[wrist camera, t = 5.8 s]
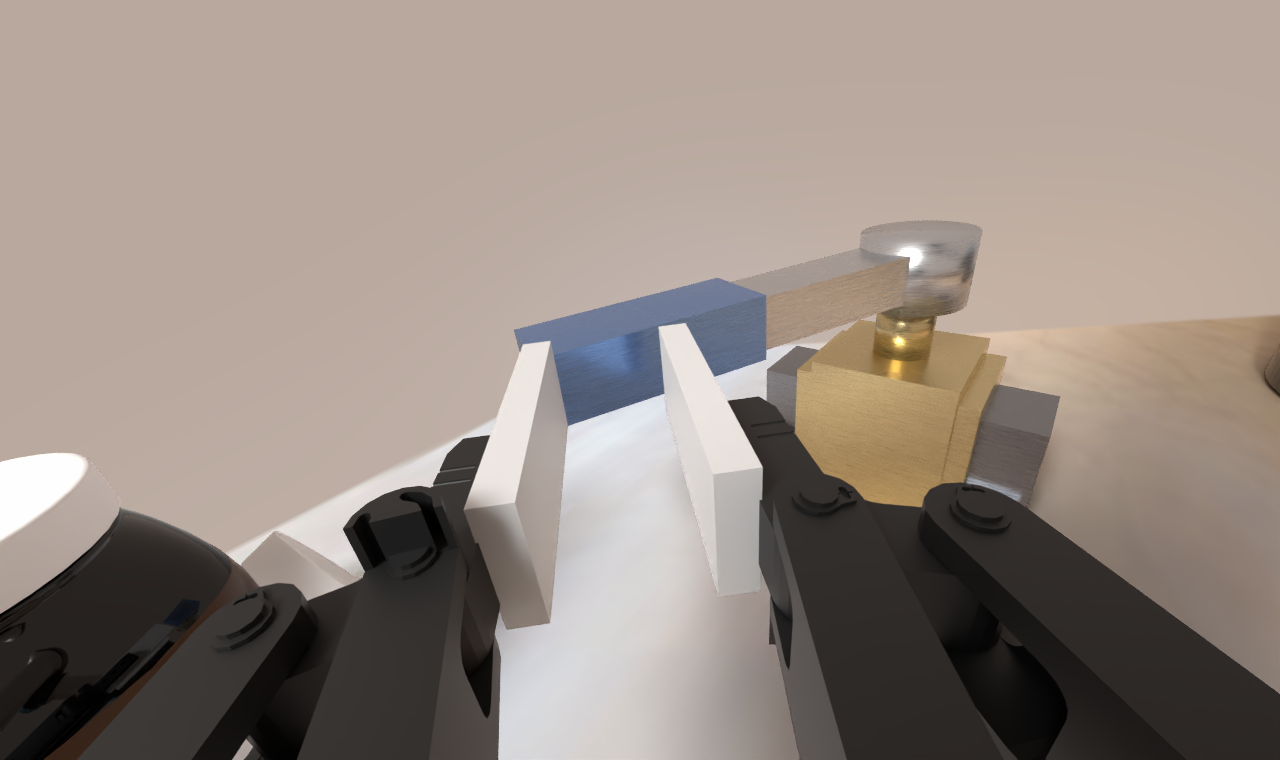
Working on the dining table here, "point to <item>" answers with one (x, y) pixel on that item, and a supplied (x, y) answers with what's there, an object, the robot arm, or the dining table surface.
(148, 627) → the spread jar
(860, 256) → the lever
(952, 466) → the valve body
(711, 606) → the dining table surface
